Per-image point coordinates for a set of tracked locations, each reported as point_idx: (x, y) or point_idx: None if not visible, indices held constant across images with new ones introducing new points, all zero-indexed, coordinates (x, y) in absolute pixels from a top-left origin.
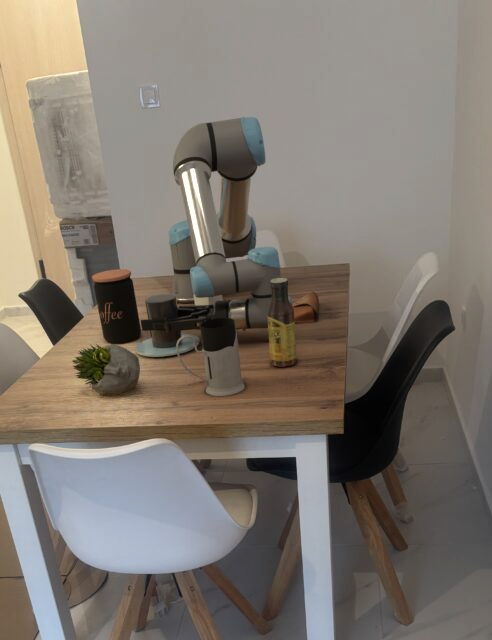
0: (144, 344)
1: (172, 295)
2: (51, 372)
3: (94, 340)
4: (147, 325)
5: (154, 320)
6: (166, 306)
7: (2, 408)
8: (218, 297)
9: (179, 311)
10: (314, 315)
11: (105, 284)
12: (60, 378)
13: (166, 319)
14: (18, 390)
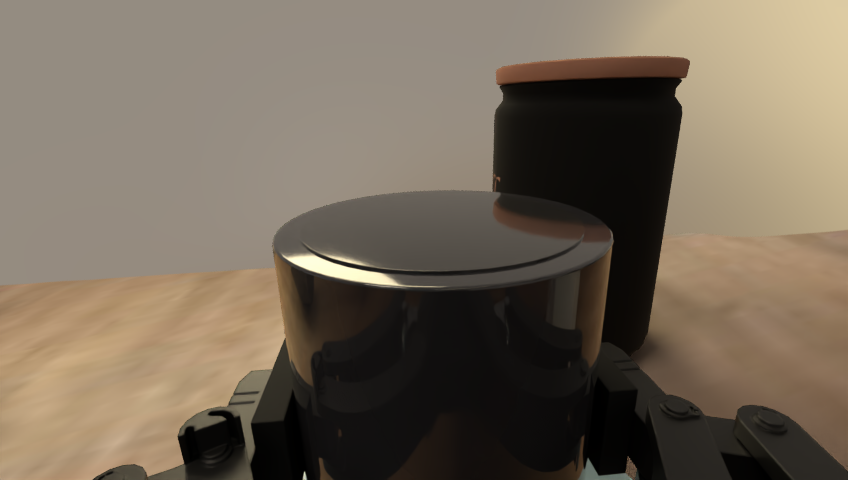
0: None
1: (550, 252)
2: (249, 288)
3: None
4: None
5: (279, 360)
6: (293, 322)
7: (4, 292)
8: None
9: (654, 464)
10: None
11: (504, 96)
12: (173, 314)
13: (185, 445)
14: (136, 280)
